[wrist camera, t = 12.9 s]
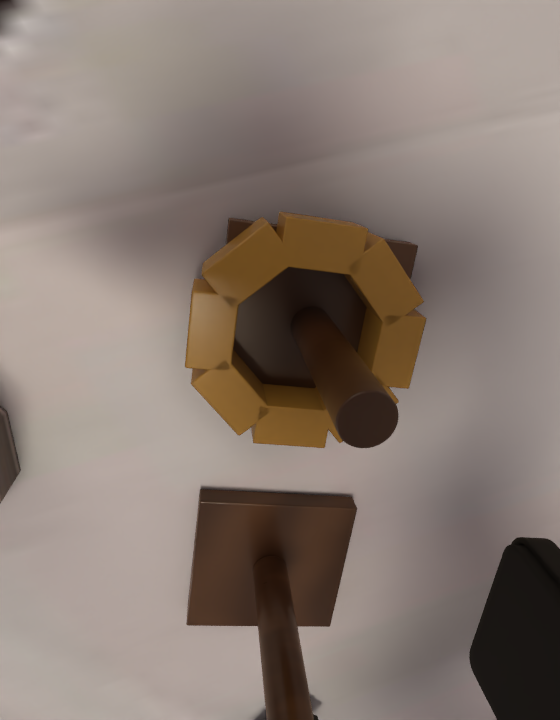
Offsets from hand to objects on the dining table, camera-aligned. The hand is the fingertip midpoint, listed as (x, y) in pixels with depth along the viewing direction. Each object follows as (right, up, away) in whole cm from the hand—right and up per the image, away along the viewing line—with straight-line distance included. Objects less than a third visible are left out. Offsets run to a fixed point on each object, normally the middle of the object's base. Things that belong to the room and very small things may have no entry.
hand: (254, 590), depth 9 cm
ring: (+1, +6, +16) cm, 17 cm away
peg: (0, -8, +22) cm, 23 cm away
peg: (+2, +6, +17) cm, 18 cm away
